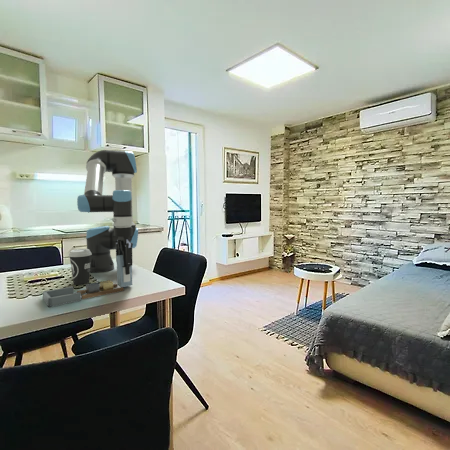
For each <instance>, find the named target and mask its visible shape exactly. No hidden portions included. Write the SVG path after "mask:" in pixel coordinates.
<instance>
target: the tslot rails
mask: <svg viewBox="0 0 450 450" xmlns="http://www.w3.org/2000/svg"><path fill="white" fill-rule="evenodd" d="M99 289H100V286H99ZM124 290H125V289H124V287H120V286H119V287H118V285H117V283H113V289H110V290H105V291H100V292H95V293H90V294H86V288H84V289H78V290H76V293H78V292H80V294H81V299H82V300H85V299H90V298H95V297H96V298H97V297H100V296H104V295H110V294H114V293H119V292H124Z"/></svg>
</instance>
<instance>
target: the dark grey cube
mask: <svg viewBox="0 0 450 450" xmlns="http://www.w3.org/2000/svg"><path fill="white" fill-rule="evenodd" d="M99 287H100V283H98V282H89V283H87V284H85V289H86V293H85V294H90V293H95V292H100V289H99Z"/></svg>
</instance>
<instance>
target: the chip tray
mask: <svg viewBox="0 0 450 450" xmlns="http://www.w3.org/2000/svg"><path fill="white" fill-rule="evenodd" d="M81 295H82V294H80V292H78V293H77V292H74V286H67V287H62V288H61V287H60V288H56V289H50V290H44V291H42V300H43V301H44V303H45V304H46V305H47V306H48V308H51V307H52V308H53V307H56V306H61V305H65V304H71V303H76V302H81V299H82V296H81Z"/></svg>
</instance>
